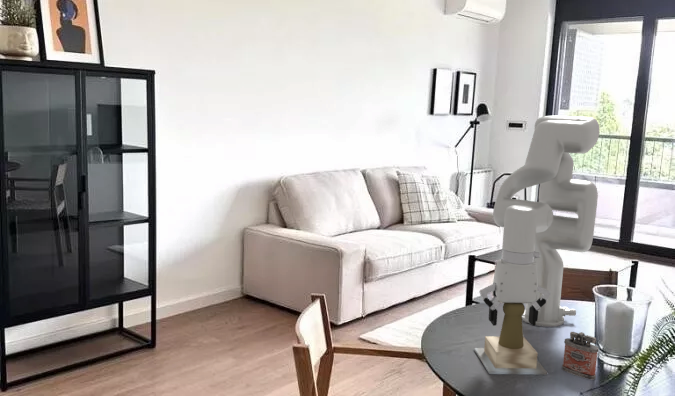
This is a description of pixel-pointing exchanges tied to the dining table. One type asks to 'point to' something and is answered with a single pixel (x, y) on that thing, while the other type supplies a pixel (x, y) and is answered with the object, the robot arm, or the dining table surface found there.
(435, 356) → the dining table surface
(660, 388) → the dining table surface
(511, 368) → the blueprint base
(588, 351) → the lighter
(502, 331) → the olive brown knobbed peg
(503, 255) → the robot arm
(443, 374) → the dining table surface
